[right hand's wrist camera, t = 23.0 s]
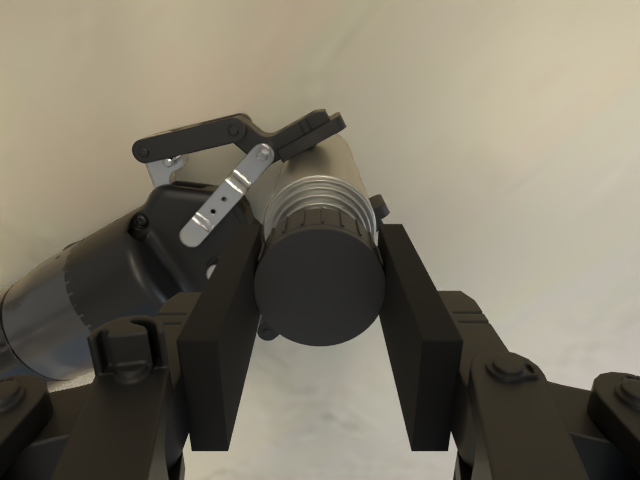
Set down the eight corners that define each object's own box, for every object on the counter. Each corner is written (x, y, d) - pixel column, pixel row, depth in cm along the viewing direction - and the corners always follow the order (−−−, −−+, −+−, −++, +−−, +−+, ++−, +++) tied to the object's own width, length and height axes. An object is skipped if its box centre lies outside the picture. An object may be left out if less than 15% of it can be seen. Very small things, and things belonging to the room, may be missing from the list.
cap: (296, 333, 15) (292, 367, 14) (237, 240, 14) (225, 264, 12) (398, 286, 15) (409, 316, 13) (346, 184, 14) (350, 202, 12)
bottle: (278, 182, 31) (229, 316, 14) (299, 119, 29) (271, 186, 12) (339, 203, 31) (361, 355, 15) (362, 142, 30) (417, 235, 13)
